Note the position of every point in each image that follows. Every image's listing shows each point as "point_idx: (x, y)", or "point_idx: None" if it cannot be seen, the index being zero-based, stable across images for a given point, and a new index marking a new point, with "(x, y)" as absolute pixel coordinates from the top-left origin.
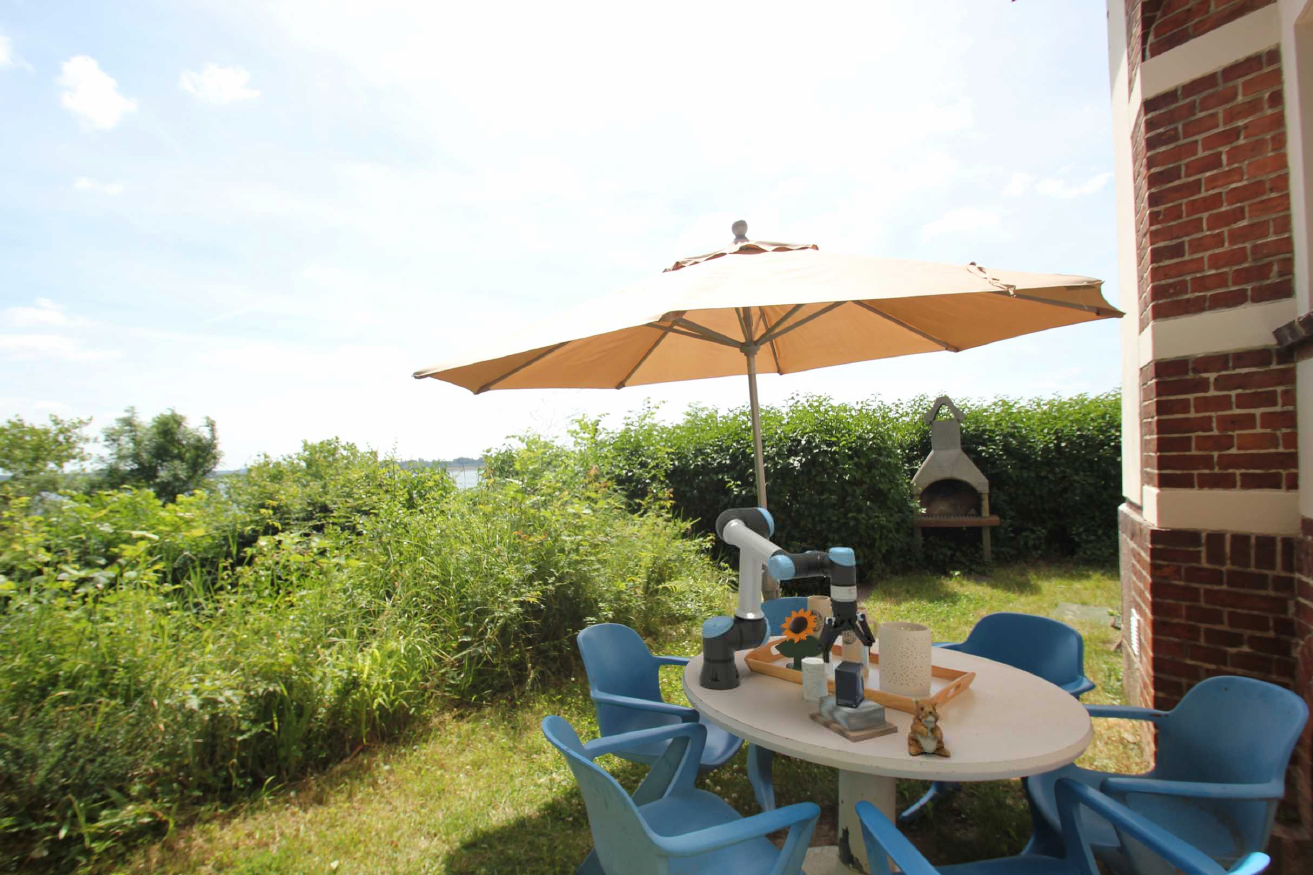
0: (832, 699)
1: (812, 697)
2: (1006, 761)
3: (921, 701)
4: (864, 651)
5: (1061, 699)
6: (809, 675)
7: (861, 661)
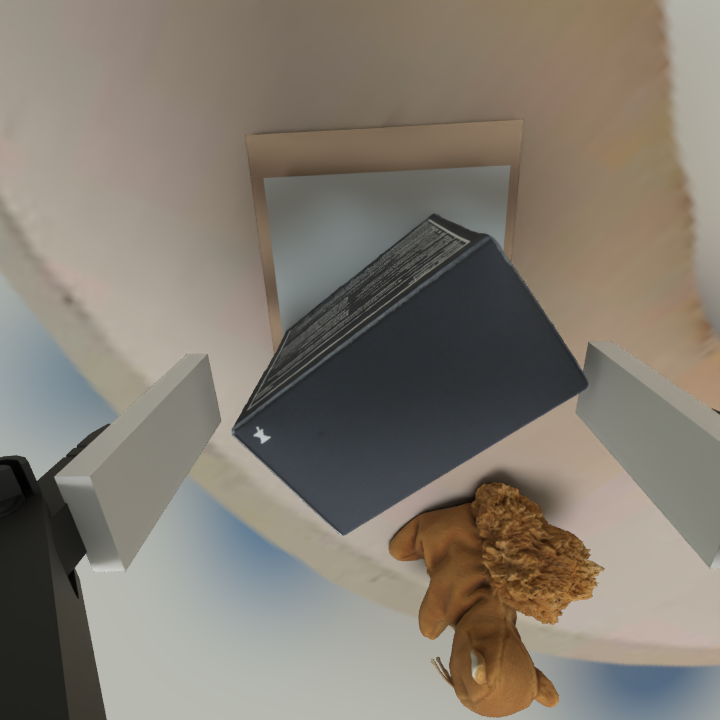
0: (320, 248)
1: None
2: (578, 638)
3: (480, 700)
4: (672, 481)
5: None
6: None
7: (611, 362)
